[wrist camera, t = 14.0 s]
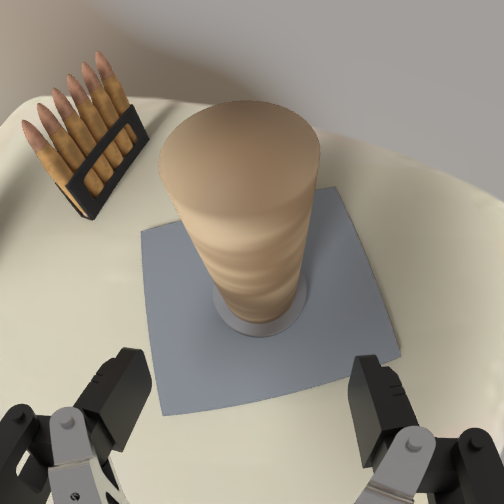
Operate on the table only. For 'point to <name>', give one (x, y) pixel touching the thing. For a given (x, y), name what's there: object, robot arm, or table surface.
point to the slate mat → (269, 348)
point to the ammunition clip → (89, 138)
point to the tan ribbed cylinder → (246, 207)
